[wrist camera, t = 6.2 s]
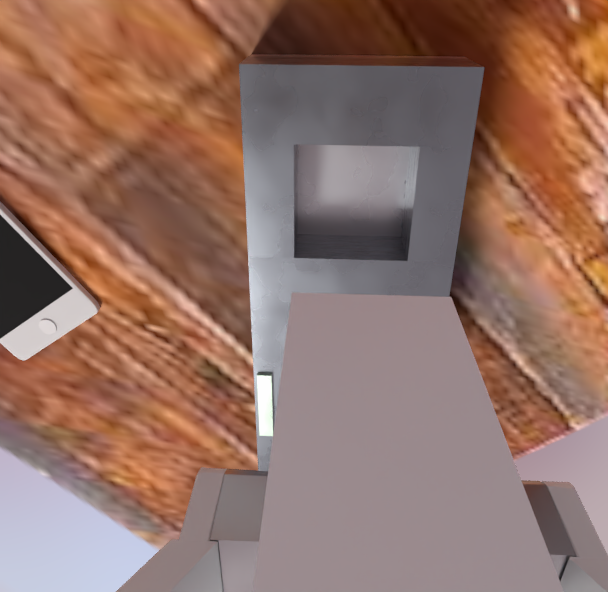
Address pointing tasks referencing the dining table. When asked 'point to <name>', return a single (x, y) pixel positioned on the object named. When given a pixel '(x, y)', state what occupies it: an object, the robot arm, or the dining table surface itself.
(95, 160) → the dining table surface
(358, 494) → the plug
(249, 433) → the dining table surface
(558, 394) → the dining table surface
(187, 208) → the dining table surface
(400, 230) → the panel
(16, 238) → the smartphone
